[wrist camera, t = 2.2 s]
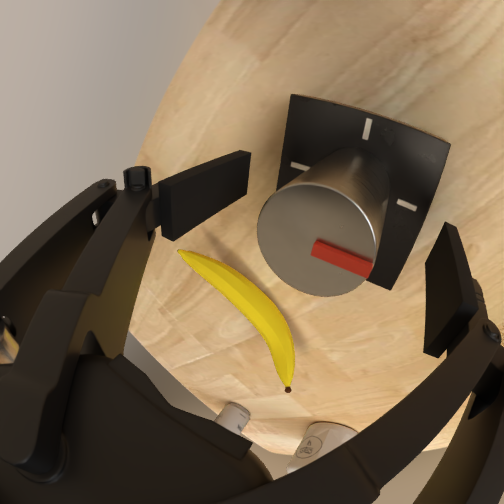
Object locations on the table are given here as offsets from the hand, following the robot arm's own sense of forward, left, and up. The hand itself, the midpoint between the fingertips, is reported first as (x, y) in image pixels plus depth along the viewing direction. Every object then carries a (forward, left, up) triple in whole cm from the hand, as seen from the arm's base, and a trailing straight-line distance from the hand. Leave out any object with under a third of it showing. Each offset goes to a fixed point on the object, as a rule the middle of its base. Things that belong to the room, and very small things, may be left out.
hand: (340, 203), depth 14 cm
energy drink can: (+52, -6, -7) cm, 53 cm away
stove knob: (0, 0, -4) cm, 4 cm away
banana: (+16, -6, -7) cm, 18 cm away
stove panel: (+1, 0, -7) cm, 7 cm away
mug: (+43, +13, -7) cm, 45 cm away
